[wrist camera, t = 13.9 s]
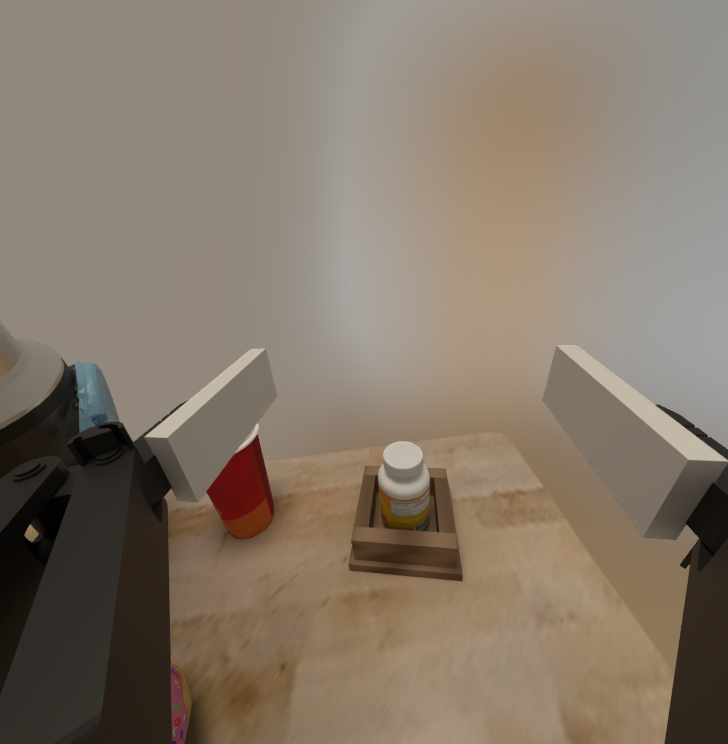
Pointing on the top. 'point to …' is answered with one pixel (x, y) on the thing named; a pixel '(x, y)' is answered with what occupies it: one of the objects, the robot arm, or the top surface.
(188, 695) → the cupcake
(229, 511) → the paper cup
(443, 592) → the top surface
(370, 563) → the socket block
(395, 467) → the supplement bottle
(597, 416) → the robot arm
